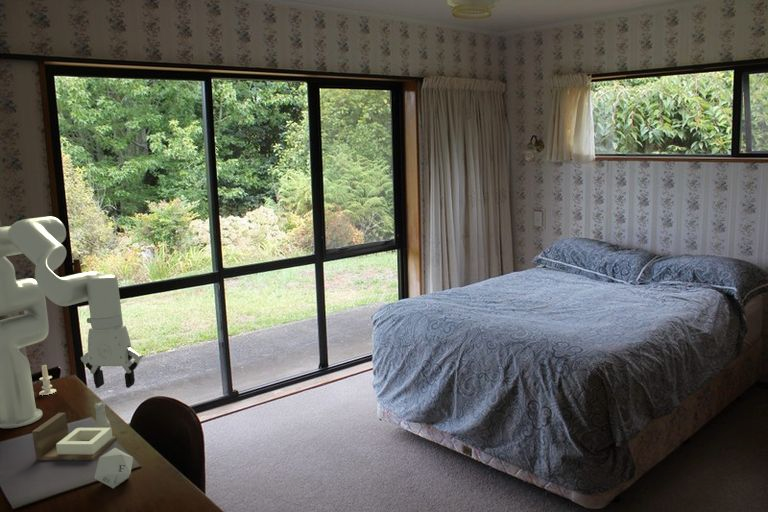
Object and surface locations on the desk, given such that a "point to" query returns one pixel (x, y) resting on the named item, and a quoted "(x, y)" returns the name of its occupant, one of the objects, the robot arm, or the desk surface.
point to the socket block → (76, 446)
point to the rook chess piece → (101, 416)
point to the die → (114, 467)
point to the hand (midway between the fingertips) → (115, 385)
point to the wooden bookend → (52, 434)
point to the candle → (46, 382)
